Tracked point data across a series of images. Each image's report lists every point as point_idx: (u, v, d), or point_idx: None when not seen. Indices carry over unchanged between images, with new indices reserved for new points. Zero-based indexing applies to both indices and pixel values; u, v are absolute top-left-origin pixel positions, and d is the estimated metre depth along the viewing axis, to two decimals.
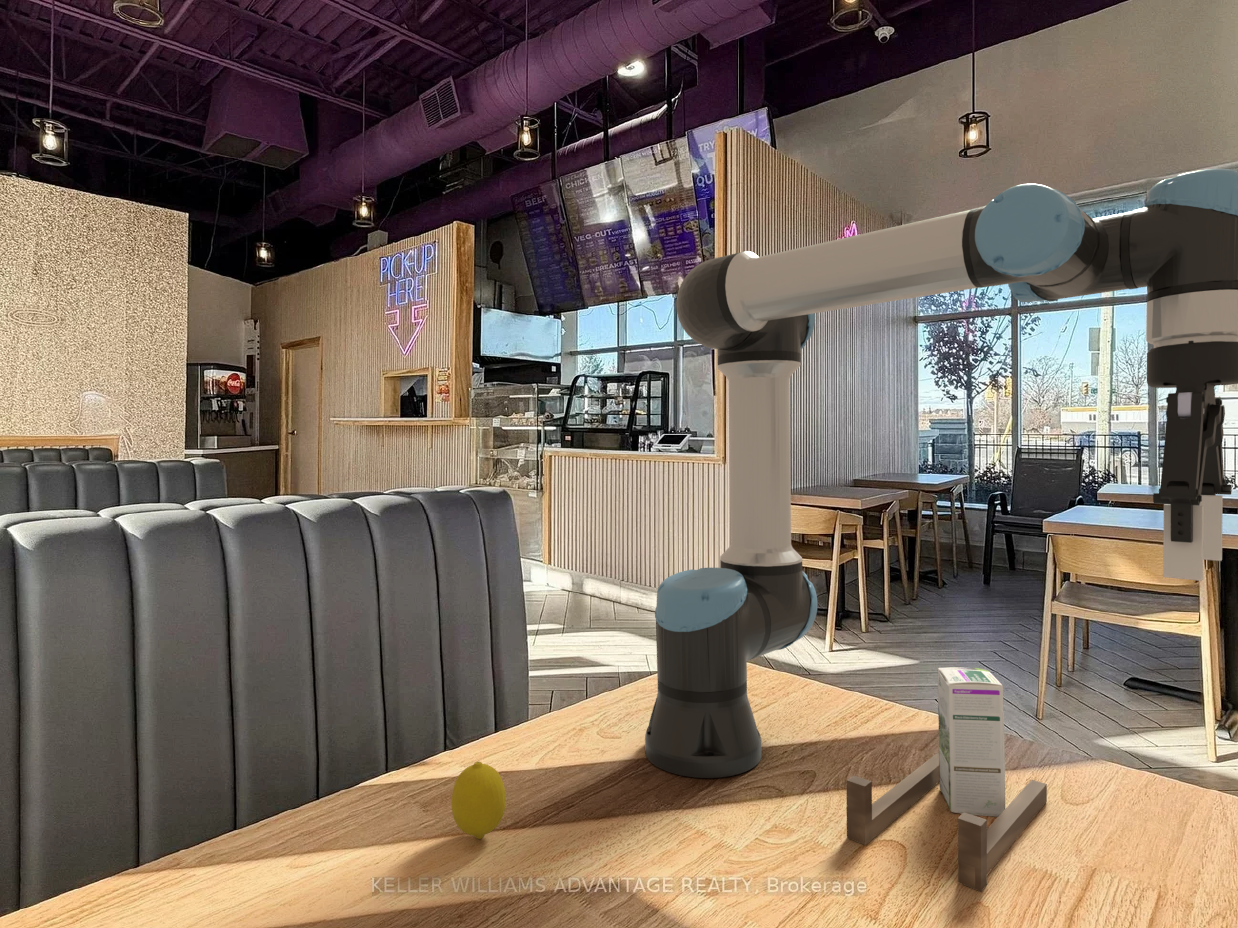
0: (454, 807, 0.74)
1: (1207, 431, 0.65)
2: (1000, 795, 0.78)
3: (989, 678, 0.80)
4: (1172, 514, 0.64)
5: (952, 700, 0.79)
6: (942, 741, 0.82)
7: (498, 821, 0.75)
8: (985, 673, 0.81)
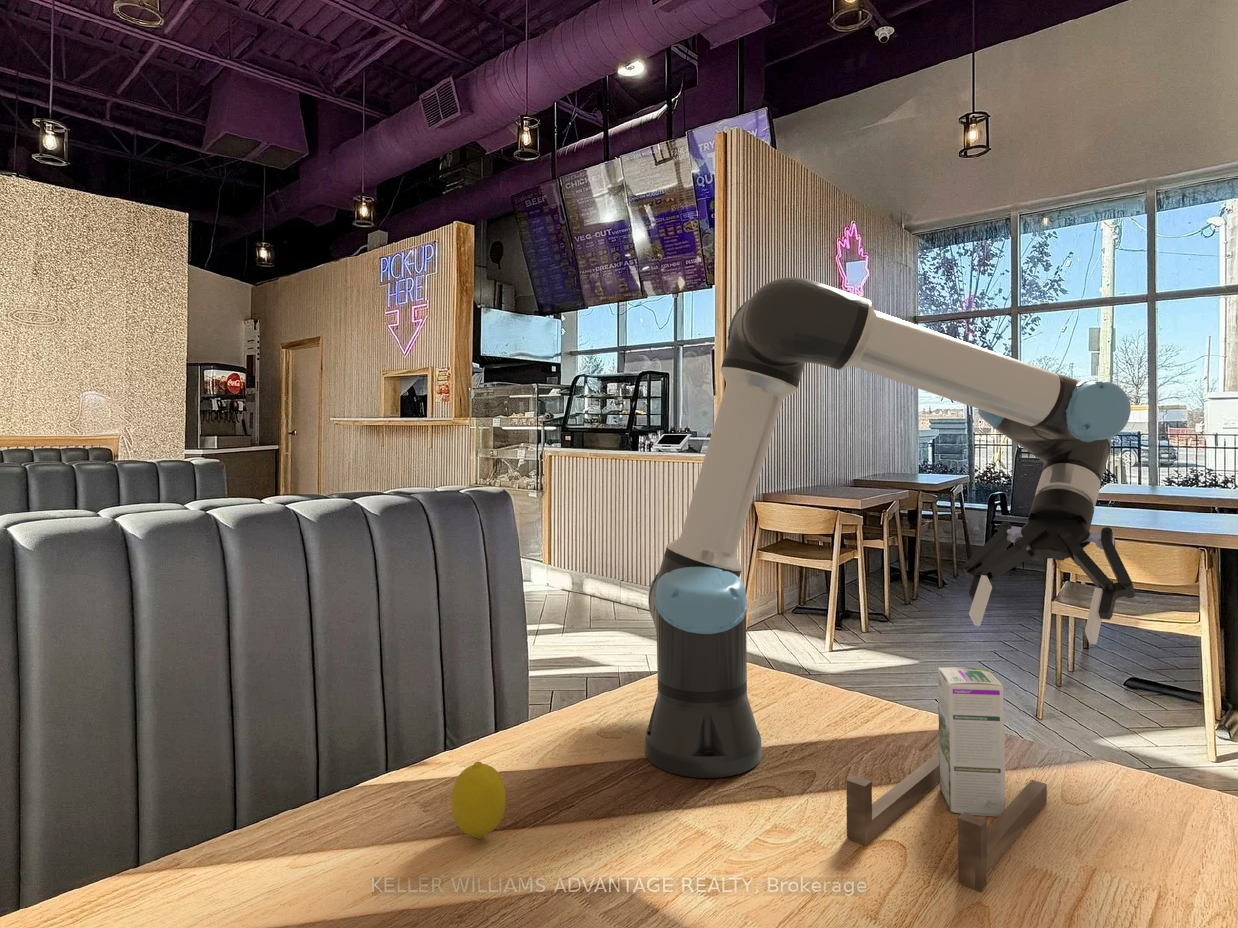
0: (454, 807, 0.74)
1: None
2: (1000, 795, 0.78)
3: (989, 678, 0.80)
4: (1112, 598, 0.90)
5: (952, 700, 0.79)
6: (942, 741, 0.82)
7: (498, 821, 0.75)
8: (985, 673, 0.81)
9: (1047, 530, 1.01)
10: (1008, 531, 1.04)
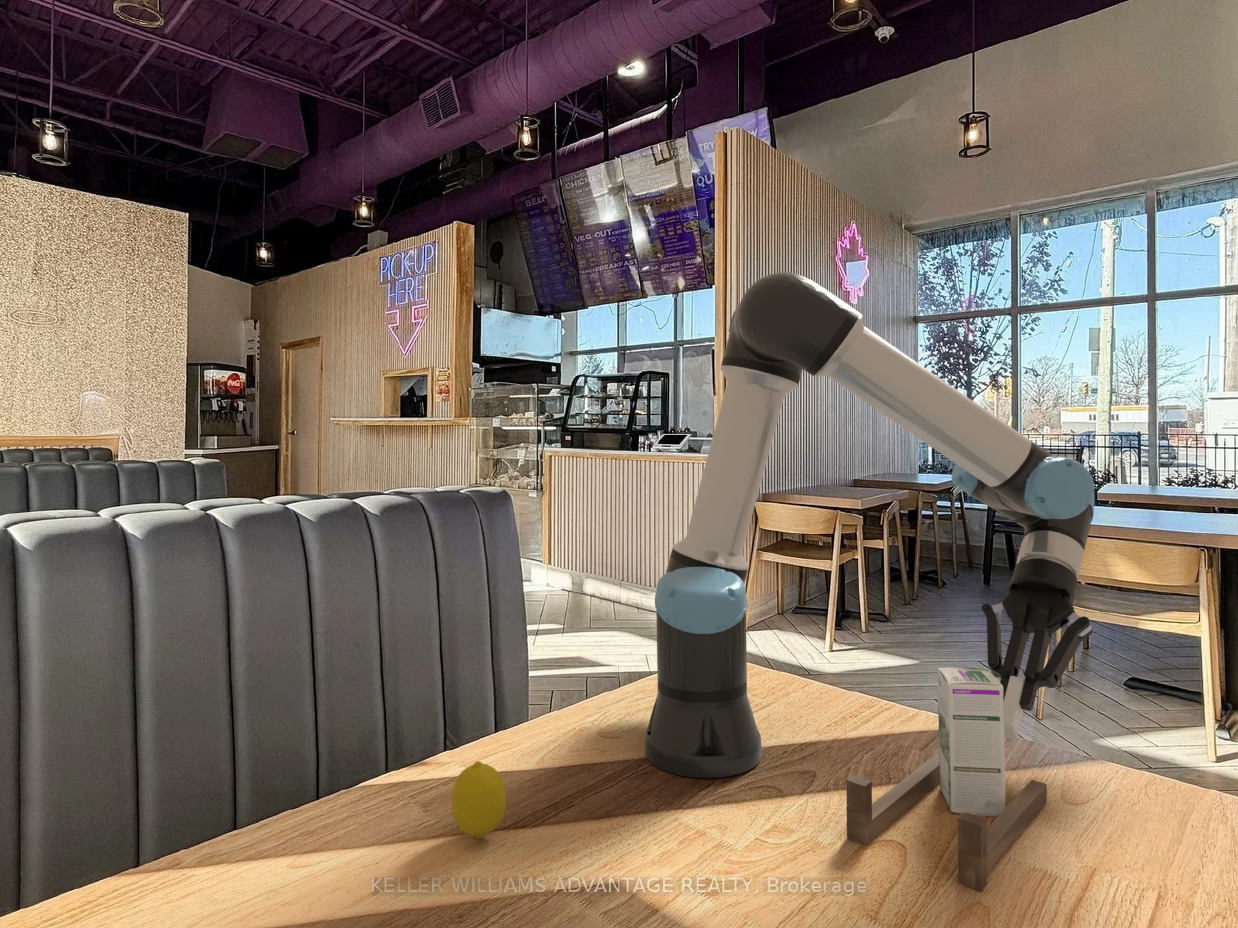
0: (454, 807, 0.74)
1: (1050, 638, 0.94)
2: (1000, 795, 0.78)
3: (989, 678, 0.80)
4: (1033, 688, 0.89)
5: (952, 700, 0.79)
6: (942, 741, 0.82)
7: (498, 821, 0.75)
8: (985, 673, 0.81)
9: (1028, 592, 0.97)
10: (995, 611, 0.98)
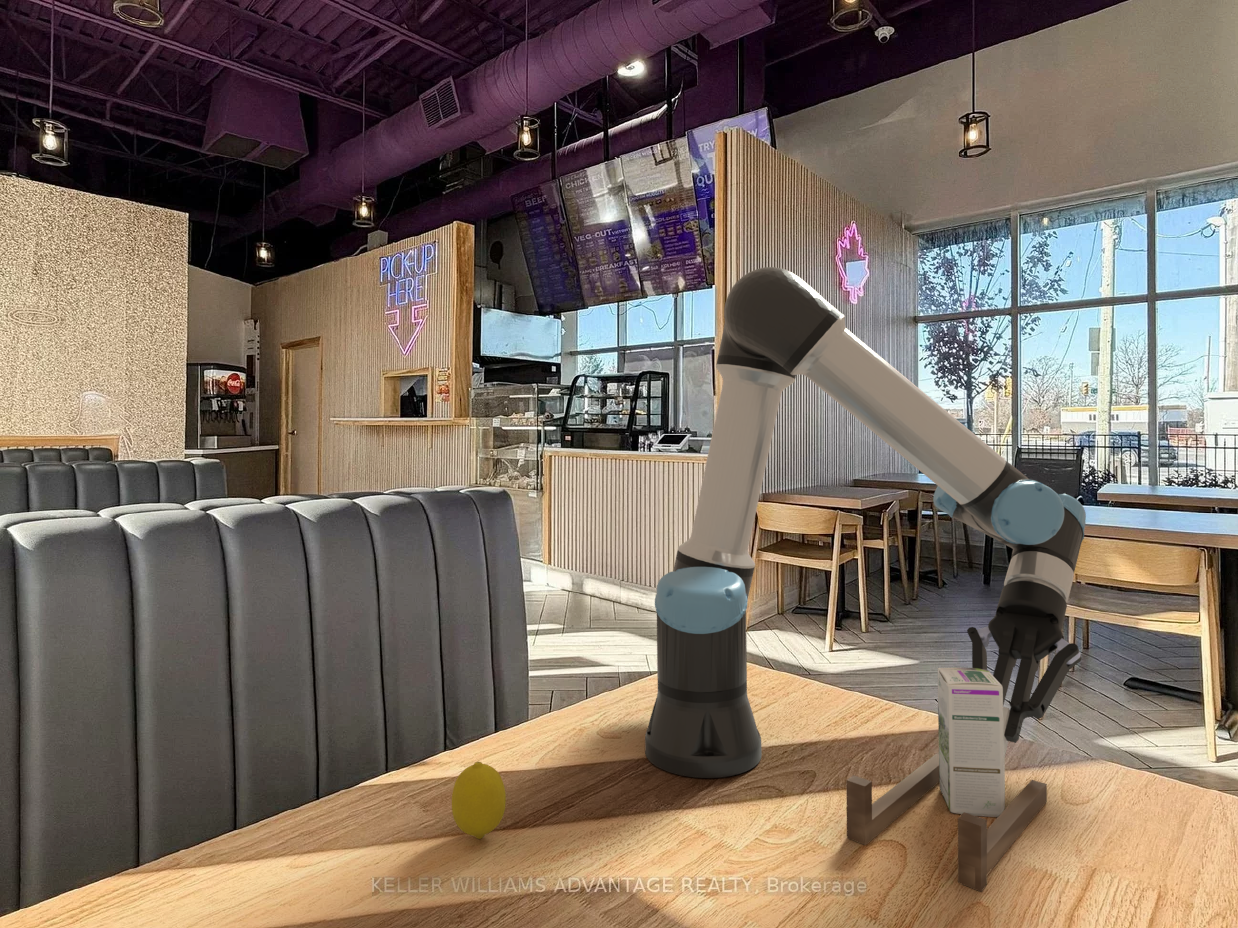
0: (454, 807, 0.74)
1: (1037, 665, 0.90)
2: (999, 795, 0.78)
3: (989, 678, 0.79)
4: (1019, 719, 0.85)
5: (951, 700, 0.79)
6: (942, 741, 0.82)
7: (498, 821, 0.75)
8: (985, 673, 0.81)
9: (1016, 616, 0.94)
10: (981, 636, 0.94)
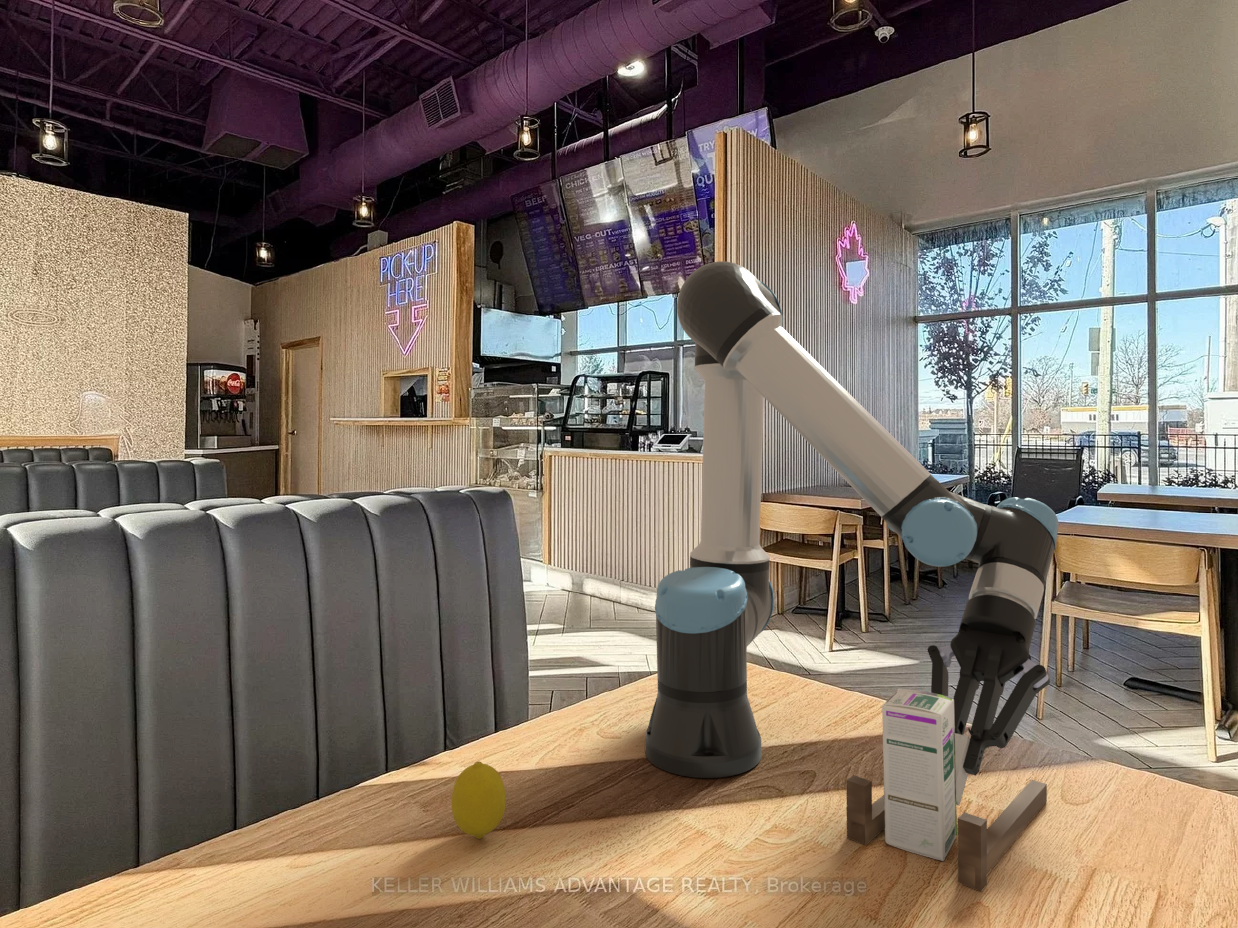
0: (454, 807, 0.74)
1: (1002, 688, 0.82)
2: (937, 836, 0.70)
3: (935, 705, 0.72)
4: (980, 749, 0.77)
5: (885, 722, 0.73)
6: None
7: (498, 821, 0.75)
8: (940, 700, 0.73)
9: (980, 634, 0.85)
10: (942, 655, 0.86)
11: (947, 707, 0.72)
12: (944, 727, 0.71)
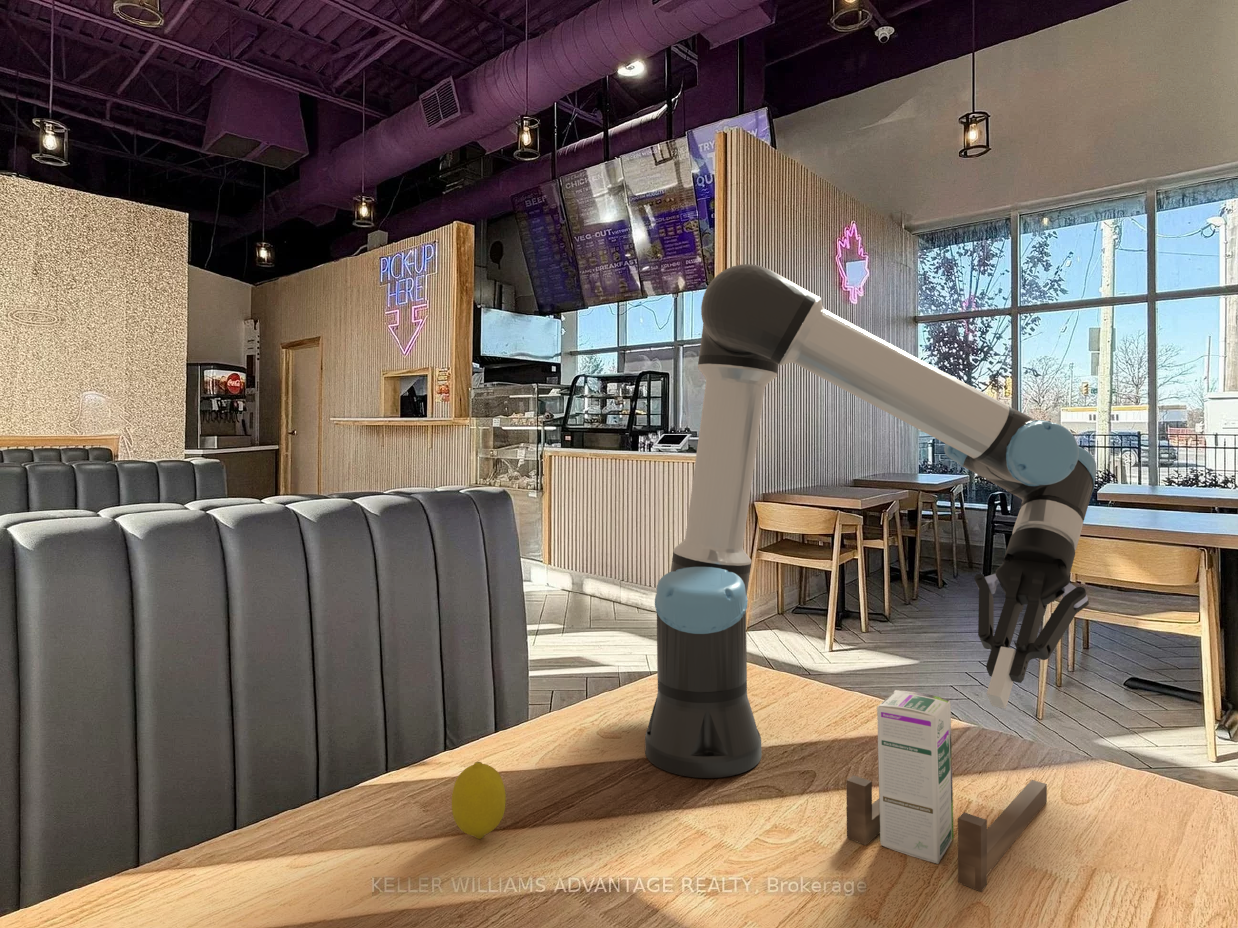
0: (454, 807, 0.74)
1: (1044, 610, 0.90)
2: (932, 838, 0.70)
3: (931, 707, 0.71)
4: (1025, 660, 0.85)
5: (880, 724, 0.72)
6: None
7: (498, 821, 0.75)
8: (936, 702, 0.73)
9: (1023, 563, 0.93)
10: (988, 582, 0.94)
11: (943, 709, 0.72)
12: (939, 729, 0.70)
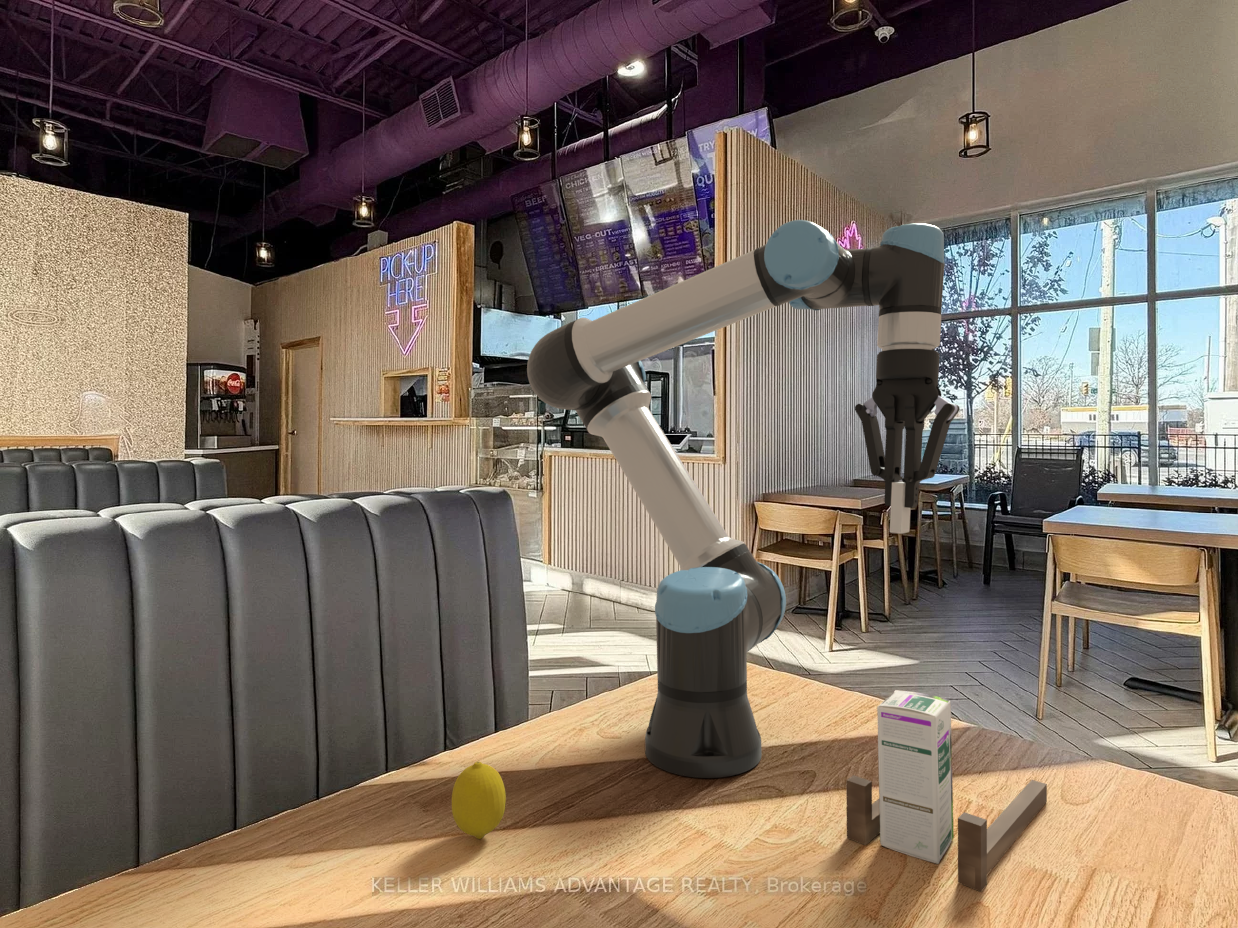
0: (454, 807, 0.74)
1: (923, 423, 0.94)
2: (932, 838, 0.70)
3: (931, 707, 0.71)
4: (914, 489, 0.93)
5: (880, 724, 0.72)
6: None
7: (498, 821, 0.75)
8: (936, 702, 0.73)
9: (894, 384, 0.94)
10: (868, 412, 0.96)
11: (943, 709, 0.72)
12: (939, 729, 0.70)
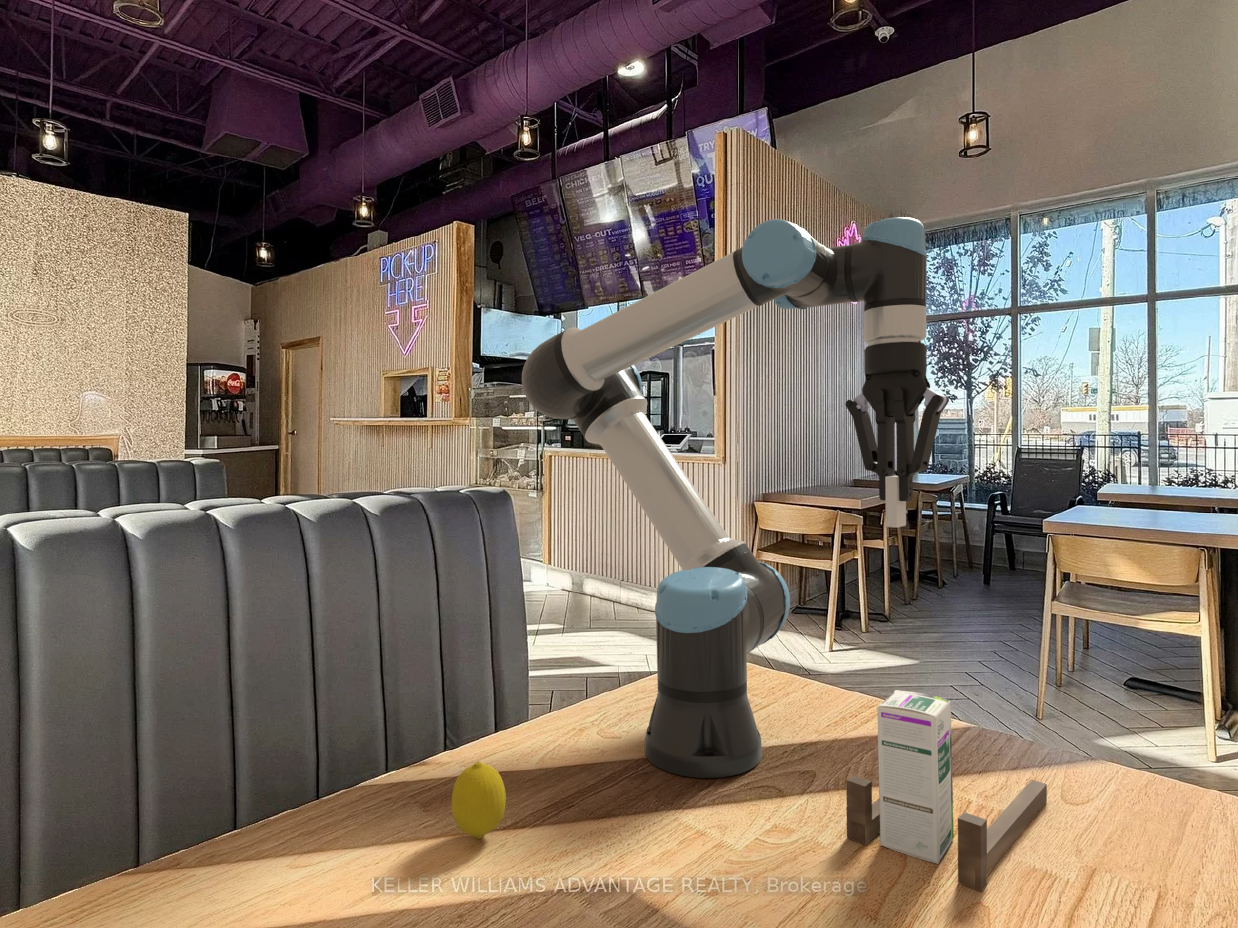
0: (454, 807, 0.74)
1: (913, 416, 0.94)
2: (932, 838, 0.70)
3: (931, 707, 0.71)
4: (908, 482, 0.93)
5: (880, 724, 0.72)
6: None
7: (498, 821, 0.75)
8: (936, 702, 0.73)
9: (882, 378, 0.94)
10: (858, 407, 0.96)
11: (943, 709, 0.72)
12: (939, 729, 0.70)
